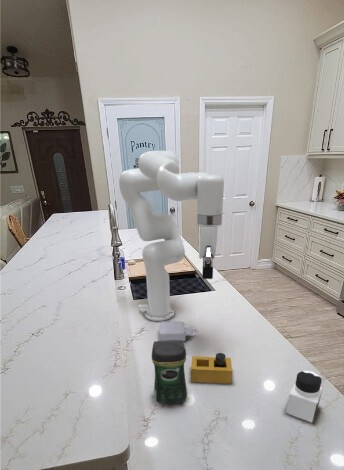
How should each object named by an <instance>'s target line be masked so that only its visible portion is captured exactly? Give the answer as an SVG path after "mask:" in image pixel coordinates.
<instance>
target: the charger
mask: <svg viewBox="0 0 344 470" xmlns="http://www.w3.org/2000/svg"><path fill="white" fill-rule="evenodd" d="M158 323H159V328H158V329H159V330H158V333H159V341H164V340H182V341H183V342H184V341H186V336H187V337H188V336H194V334H195V333H199V332H200V331H199V328H194V327H193V326H185V322H184V321H182V320H181V321H180V320H179V321H159V322H158Z"/></svg>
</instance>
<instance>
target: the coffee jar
mask: <svg viewBox="0 0 344 470" xmlns="http://www.w3.org/2000/svg"><path fill="white" fill-rule="evenodd" d="M186 360H187V351H186V346H185V343H184V341H182V340H164V341H160V340H154V342H153V343H152V349H151V361H152V364H153V365H154V382H153V396H154V401H155V402H156V403H158V404H161V405H175V404H181V403H184V402H185V401H186V399H187V396H188V389H187V382H186V373H185V362H186Z"/></svg>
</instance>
